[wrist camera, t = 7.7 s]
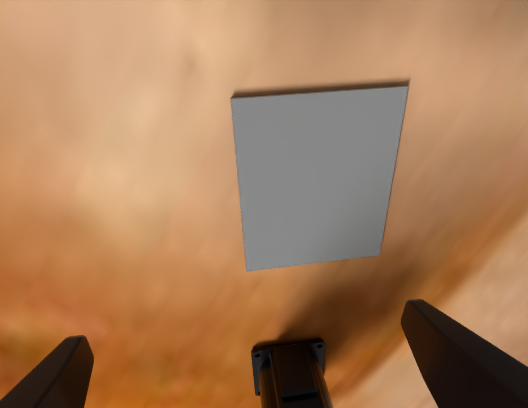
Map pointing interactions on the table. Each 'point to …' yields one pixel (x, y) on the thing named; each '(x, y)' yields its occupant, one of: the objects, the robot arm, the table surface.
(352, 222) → the mat
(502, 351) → the robot arm
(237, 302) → the table surface
